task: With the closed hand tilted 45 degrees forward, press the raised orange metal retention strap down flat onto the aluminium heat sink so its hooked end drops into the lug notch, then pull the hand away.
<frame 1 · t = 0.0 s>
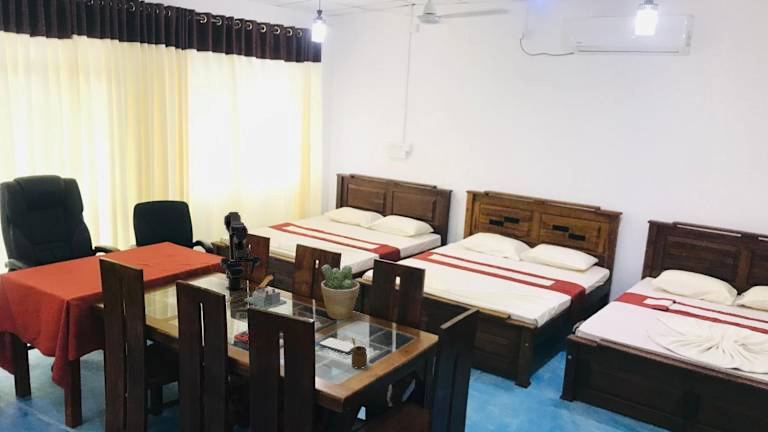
hand: (241, 278, 277), 15 cm above the table, tool tilted 35°, fingers open, 9 cm apart
utensil holder: (358, 366, 221), on the table
potted plant: (339, 315, 274), on the table
retention strap: (265, 283, 286), point 10 cm above the table, hinge at 45.0°
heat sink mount: (265, 302, 288), on the table
phone case: (338, 348, 237), on the table
gaming console: (262, 334, 249), on the table
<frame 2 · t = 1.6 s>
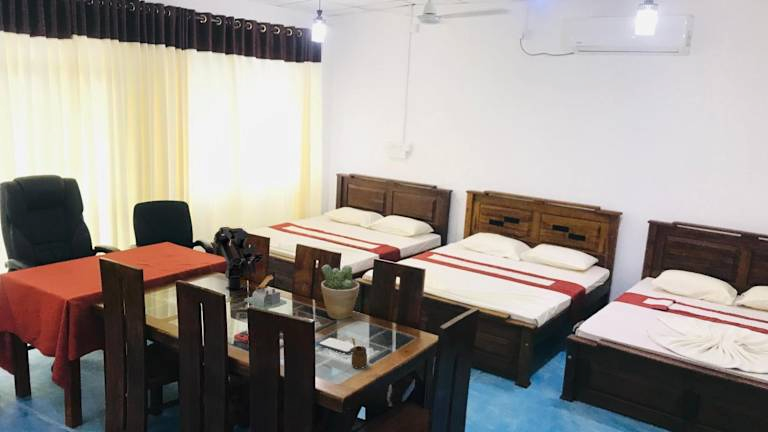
hand: (253, 274, 292), 13 cm above the table, tool tilted 45°, fingers closed
nothing on the table moved.
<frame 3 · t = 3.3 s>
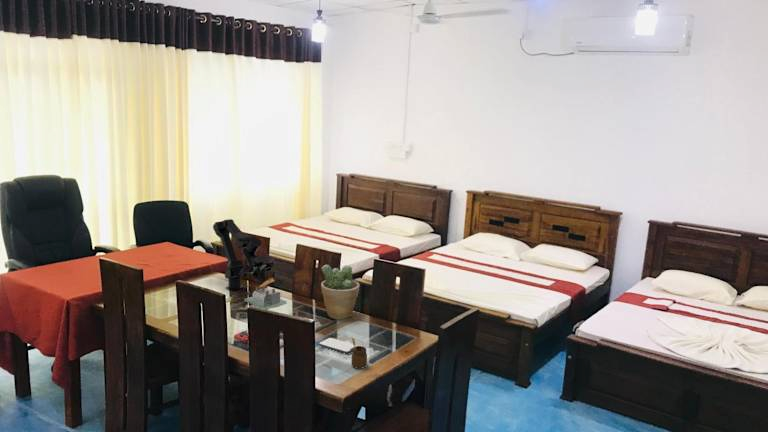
hand: (264, 283, 287), 10 cm above the table, tool tilted 45°, fingers closed, pressing on retention strap
retention strap: (265, 284, 286), point 9 cm above the table, hinge at 36.7°, touching gripper
everything else where it was.
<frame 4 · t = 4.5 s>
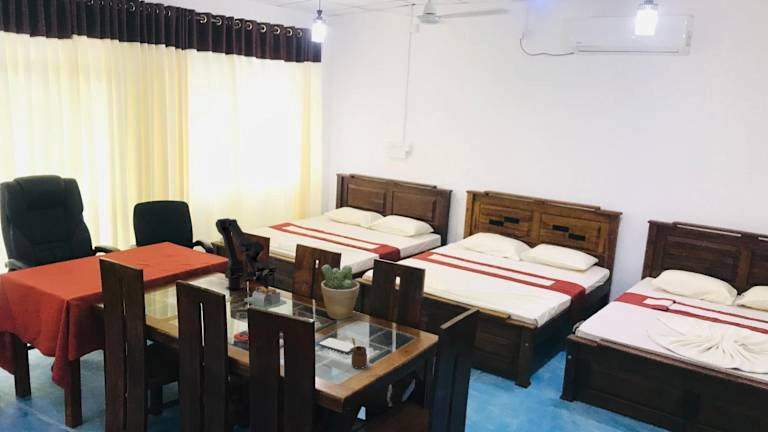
hand: (267, 288, 286), 8 cm above the table, tool tilted 45°, fingers closed, pressing on retention strap
retention strap: (266, 290, 286), point 7 cm above the table, hinge at 4.3°, touching gripper
everything else where it was.
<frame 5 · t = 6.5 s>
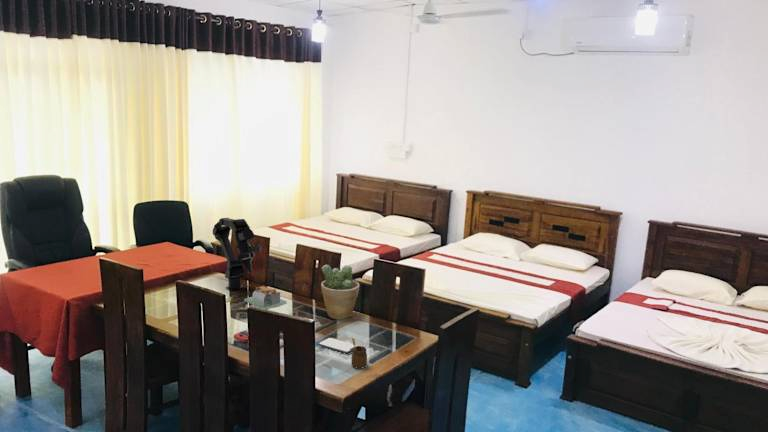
hand: (250, 271, 296), 13 cm above the table, tool tilted 20°, fingers closed
retention strap: (266, 290, 286), point 7 cm above the table, hinge at 4.3°
everything else where it was.
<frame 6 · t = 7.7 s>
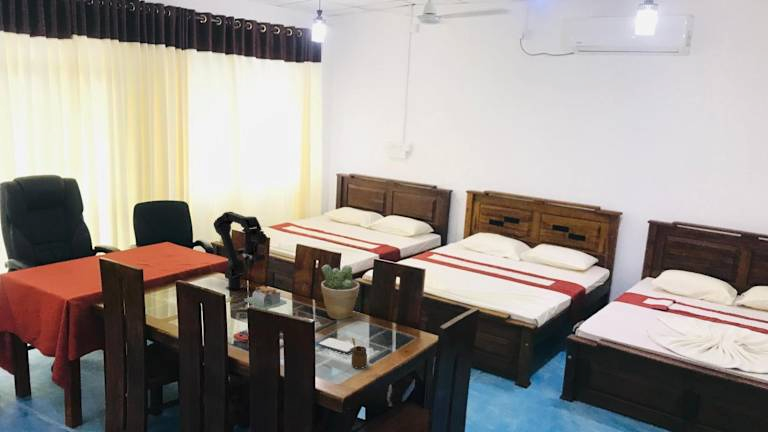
hand: (250, 270, 297), 13 cm above the table, tool pointing down, fingers closed
nothing on the table moved.
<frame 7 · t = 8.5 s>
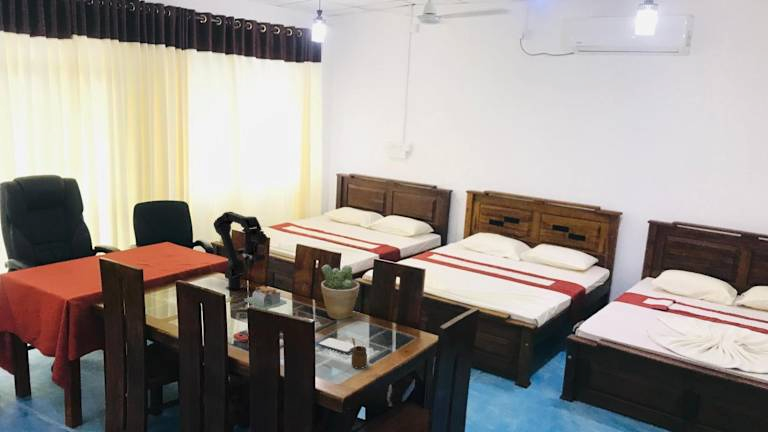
hand: (250, 270, 297), 13 cm above the table, tool pointing down, fingers closed
nothing on the table moved.
at the end: retention strap at +4° (first picture: +45°) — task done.
